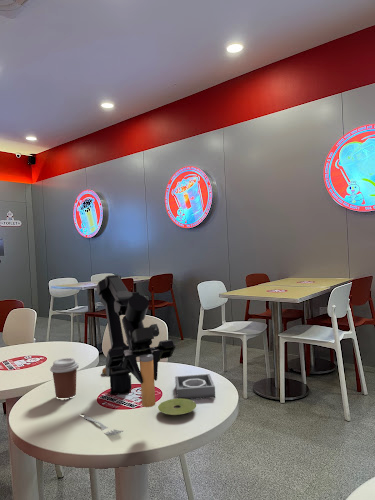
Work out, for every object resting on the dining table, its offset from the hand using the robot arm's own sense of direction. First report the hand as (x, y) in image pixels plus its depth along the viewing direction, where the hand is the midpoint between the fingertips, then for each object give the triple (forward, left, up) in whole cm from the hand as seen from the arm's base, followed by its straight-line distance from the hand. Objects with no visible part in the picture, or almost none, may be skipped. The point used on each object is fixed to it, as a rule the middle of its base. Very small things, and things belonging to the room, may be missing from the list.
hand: (149, 381), depth 101 cm
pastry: (-15, +52, -14) cm, 56 cm away
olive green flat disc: (+7, +11, -14) cm, 19 cm away
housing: (+14, +25, -13) cm, 32 cm away
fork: (-16, +8, -14) cm, 23 cm away
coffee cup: (-29, +30, -14) cm, 44 cm away
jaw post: (0, +1, -7) cm, 7 cm away
